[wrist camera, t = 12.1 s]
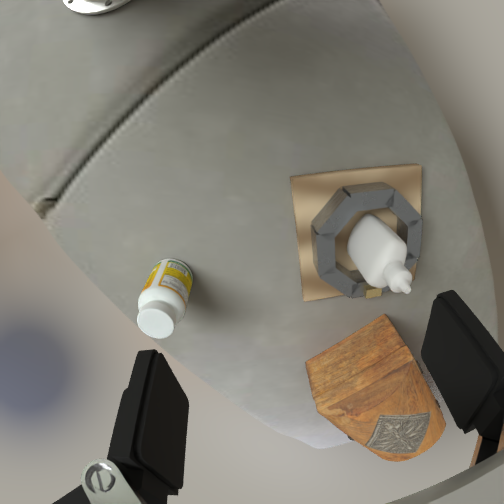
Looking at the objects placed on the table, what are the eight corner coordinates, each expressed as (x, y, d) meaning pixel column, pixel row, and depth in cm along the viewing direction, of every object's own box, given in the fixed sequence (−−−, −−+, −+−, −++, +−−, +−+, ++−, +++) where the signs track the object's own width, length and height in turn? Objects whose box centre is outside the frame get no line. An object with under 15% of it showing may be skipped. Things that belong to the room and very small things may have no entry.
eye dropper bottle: (388, 233, 35) (438, 286, 25) (353, 260, 37) (391, 322, 26) (372, 207, 34) (424, 255, 23) (334, 235, 35) (372, 294, 25)
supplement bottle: (187, 254, 37) (172, 300, 29) (197, 290, 40) (187, 341, 31) (146, 260, 37) (123, 306, 29) (159, 295, 40) (141, 345, 31)
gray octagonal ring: (306, 190, 33) (314, 201, 29) (411, 178, 32) (428, 188, 29) (315, 290, 39) (321, 309, 35) (406, 273, 38) (419, 289, 35)
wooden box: (297, 362, 47) (311, 436, 34) (388, 308, 43) (427, 375, 30) (365, 424, 58) (380, 475, 45) (430, 388, 54) (454, 436, 41)
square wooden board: (290, 176, 33) (291, 179, 32) (416, 163, 33) (421, 165, 32) (302, 296, 40) (304, 301, 39) (410, 275, 40) (414, 280, 39)
